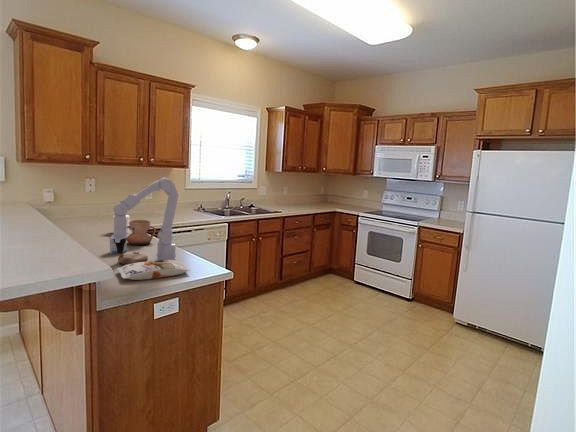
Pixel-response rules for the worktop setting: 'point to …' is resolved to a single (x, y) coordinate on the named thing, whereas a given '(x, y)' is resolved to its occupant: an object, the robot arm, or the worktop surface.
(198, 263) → the worktop surface
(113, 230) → the toilet paper
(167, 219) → the robot arm
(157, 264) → the dog food
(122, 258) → the turntable
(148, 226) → the ceramic jug
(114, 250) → the medicine box
